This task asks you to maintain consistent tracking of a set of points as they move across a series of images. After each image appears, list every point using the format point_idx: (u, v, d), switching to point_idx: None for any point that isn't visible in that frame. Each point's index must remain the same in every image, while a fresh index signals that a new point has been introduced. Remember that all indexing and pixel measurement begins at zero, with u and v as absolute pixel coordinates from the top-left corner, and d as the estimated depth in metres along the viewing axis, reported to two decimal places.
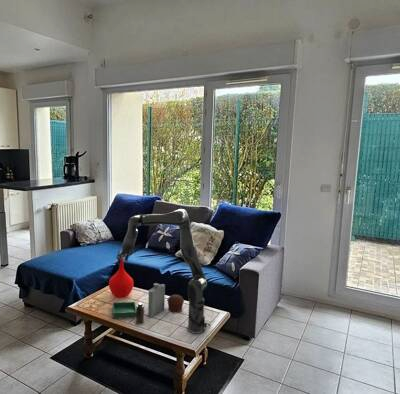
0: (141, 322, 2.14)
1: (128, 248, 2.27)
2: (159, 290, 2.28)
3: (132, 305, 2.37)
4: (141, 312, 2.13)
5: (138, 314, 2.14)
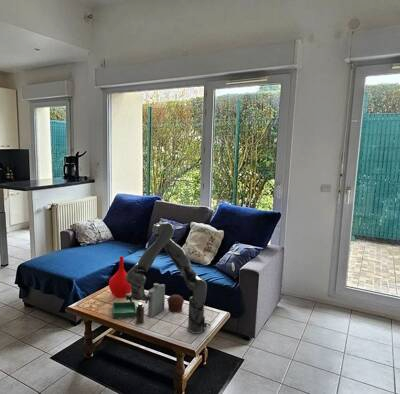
0: (141, 322, 2.14)
1: None
2: (159, 290, 2.28)
3: (132, 305, 2.37)
4: (141, 312, 2.13)
5: (138, 314, 2.14)
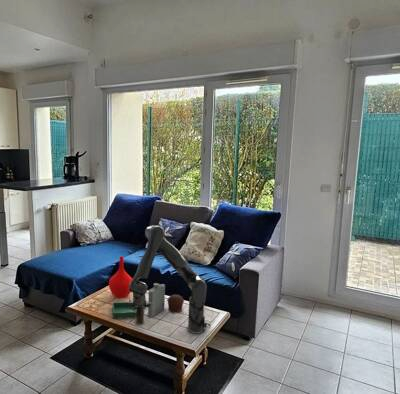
0: (141, 322, 2.14)
1: None
2: (159, 290, 2.28)
3: None
4: (141, 312, 2.13)
5: (138, 314, 2.14)
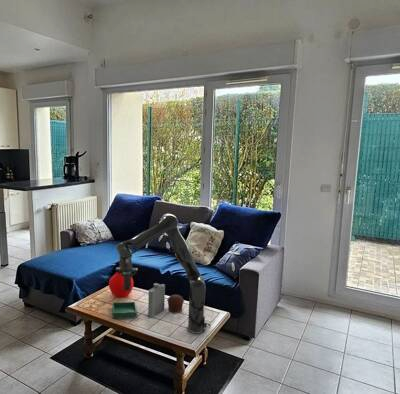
0: (128, 289, 2.22)
1: None
2: (159, 290, 2.28)
3: (132, 305, 2.37)
4: (128, 279, 2.21)
5: (125, 281, 2.21)
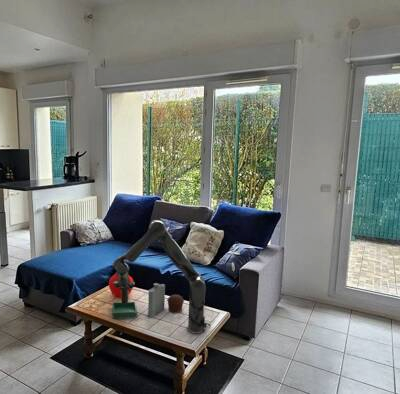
0: (125, 302, 2.26)
1: None
2: (159, 290, 2.28)
3: (132, 305, 2.37)
4: (125, 292, 2.25)
5: (123, 294, 2.25)
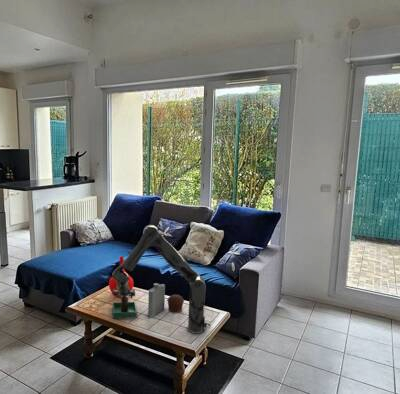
0: (125, 311, 2.27)
1: None
2: (159, 290, 2.28)
3: (132, 305, 2.37)
4: (125, 302, 2.26)
5: (122, 304, 2.26)
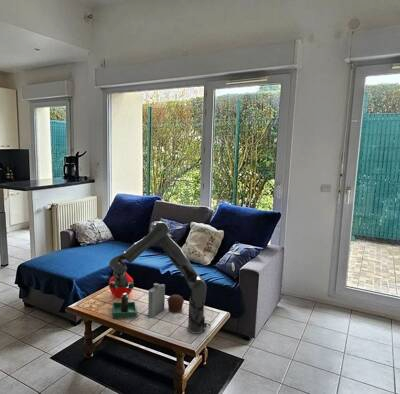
0: (125, 311, 2.27)
1: None
2: (159, 290, 2.28)
3: (132, 305, 2.37)
4: (125, 302, 2.26)
5: (122, 304, 2.26)
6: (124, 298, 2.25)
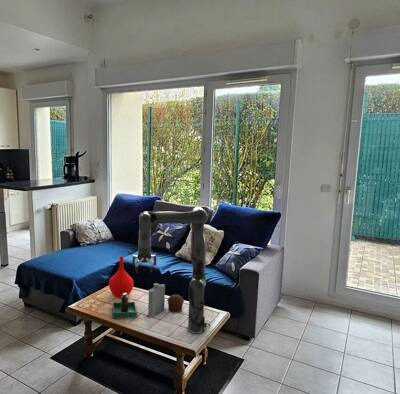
0: (125, 311, 2.27)
1: None
2: (159, 290, 2.28)
3: (132, 305, 2.37)
4: (125, 302, 2.26)
5: (122, 304, 2.26)
6: (124, 298, 2.25)
